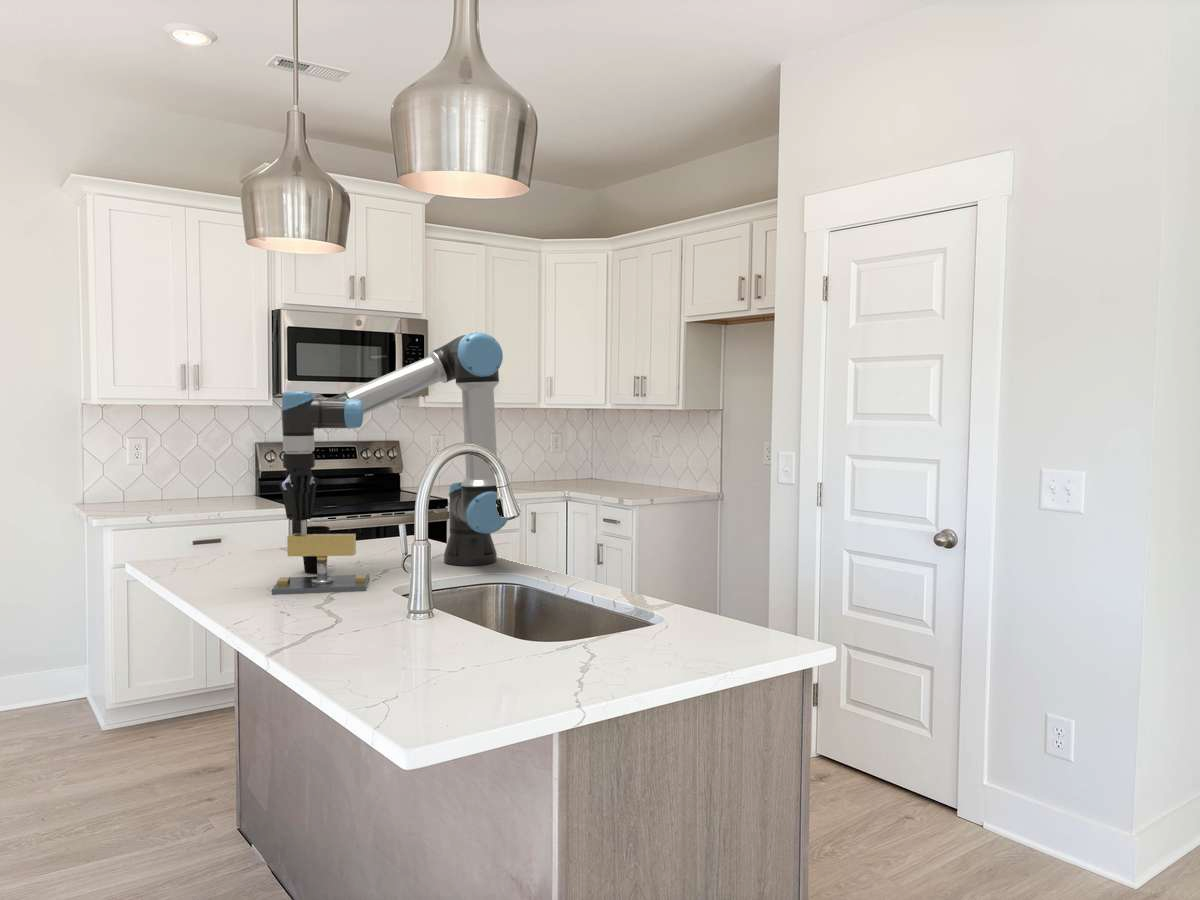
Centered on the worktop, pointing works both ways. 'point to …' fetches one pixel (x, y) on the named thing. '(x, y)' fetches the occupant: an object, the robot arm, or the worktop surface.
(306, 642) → the worktop surface
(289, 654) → the worktop surface
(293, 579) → the plate
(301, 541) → the flat gold bar
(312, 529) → the cup
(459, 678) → the worktop surface
